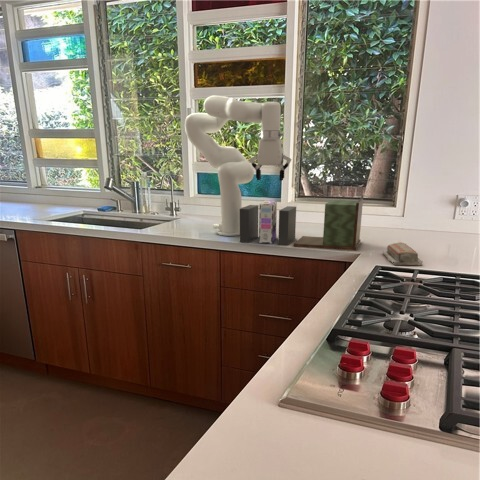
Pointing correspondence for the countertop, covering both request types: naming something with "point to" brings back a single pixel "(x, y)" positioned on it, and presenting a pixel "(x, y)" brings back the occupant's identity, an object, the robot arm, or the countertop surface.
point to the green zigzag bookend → (338, 227)
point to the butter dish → (402, 254)
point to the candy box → (267, 221)
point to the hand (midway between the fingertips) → (270, 180)
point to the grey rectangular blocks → (251, 224)
